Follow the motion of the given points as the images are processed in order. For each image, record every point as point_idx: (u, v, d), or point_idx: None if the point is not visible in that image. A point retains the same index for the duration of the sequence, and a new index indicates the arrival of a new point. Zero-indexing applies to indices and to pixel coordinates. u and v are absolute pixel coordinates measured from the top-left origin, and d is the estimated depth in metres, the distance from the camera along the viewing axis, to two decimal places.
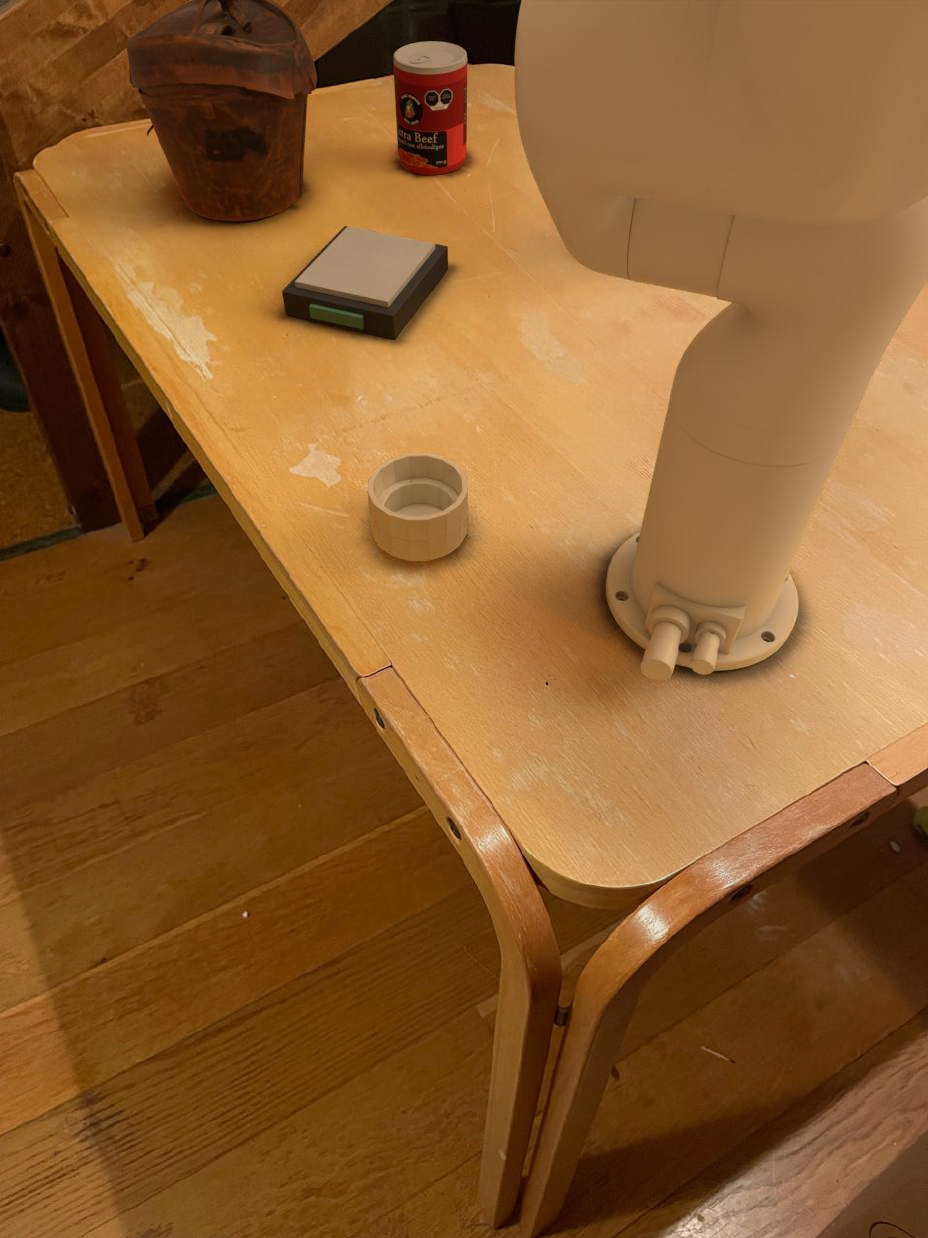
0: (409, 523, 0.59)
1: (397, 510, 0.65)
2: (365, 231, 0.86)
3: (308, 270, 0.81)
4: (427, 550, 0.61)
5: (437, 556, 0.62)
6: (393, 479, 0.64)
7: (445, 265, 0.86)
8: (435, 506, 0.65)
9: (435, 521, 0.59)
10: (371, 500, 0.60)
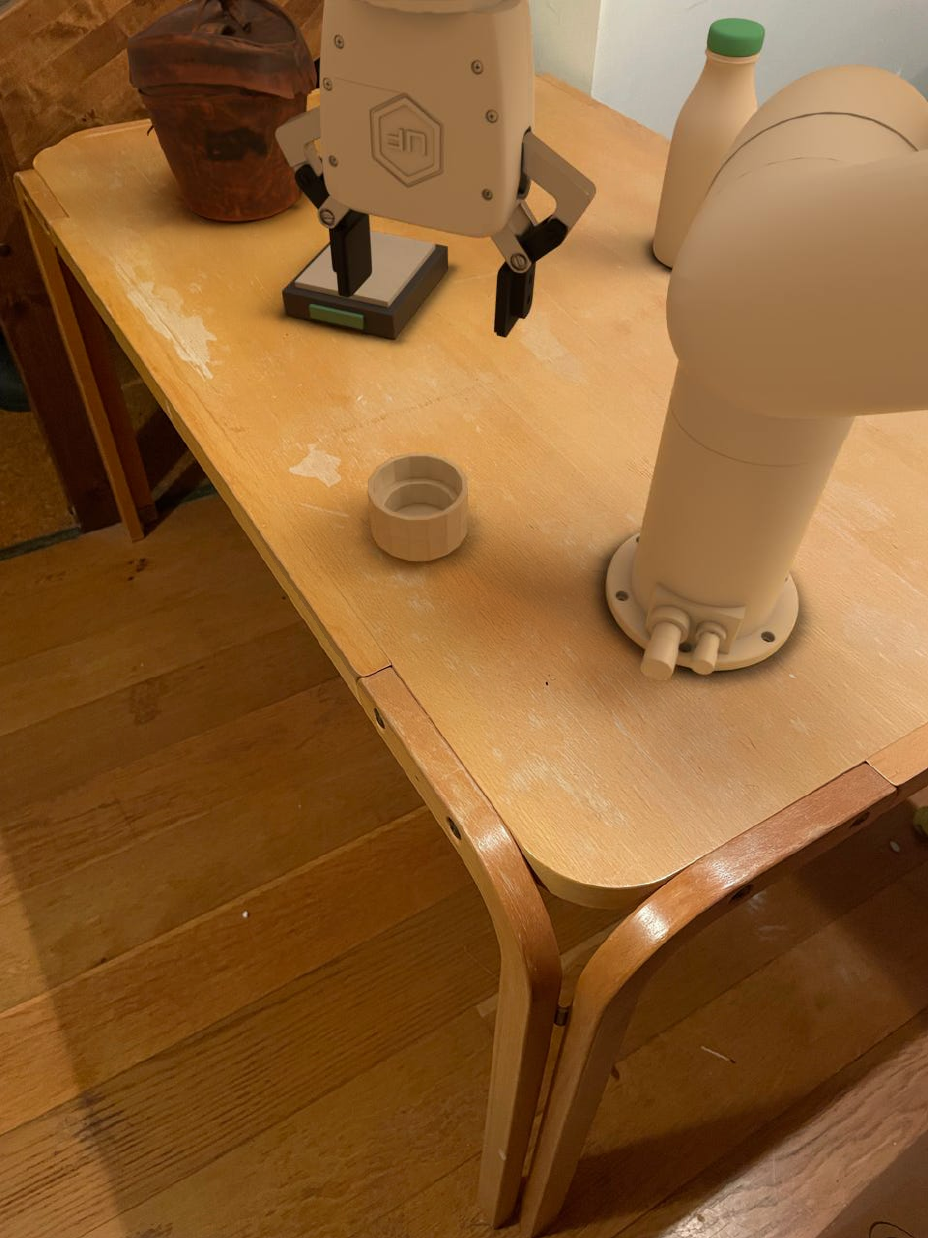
0: (409, 523, 0.59)
1: (397, 510, 0.65)
2: None
3: (308, 270, 0.81)
4: (427, 550, 0.61)
5: (437, 556, 0.62)
6: (393, 479, 0.64)
7: (445, 265, 0.86)
8: (435, 506, 0.65)
9: (435, 521, 0.59)
10: (371, 500, 0.60)
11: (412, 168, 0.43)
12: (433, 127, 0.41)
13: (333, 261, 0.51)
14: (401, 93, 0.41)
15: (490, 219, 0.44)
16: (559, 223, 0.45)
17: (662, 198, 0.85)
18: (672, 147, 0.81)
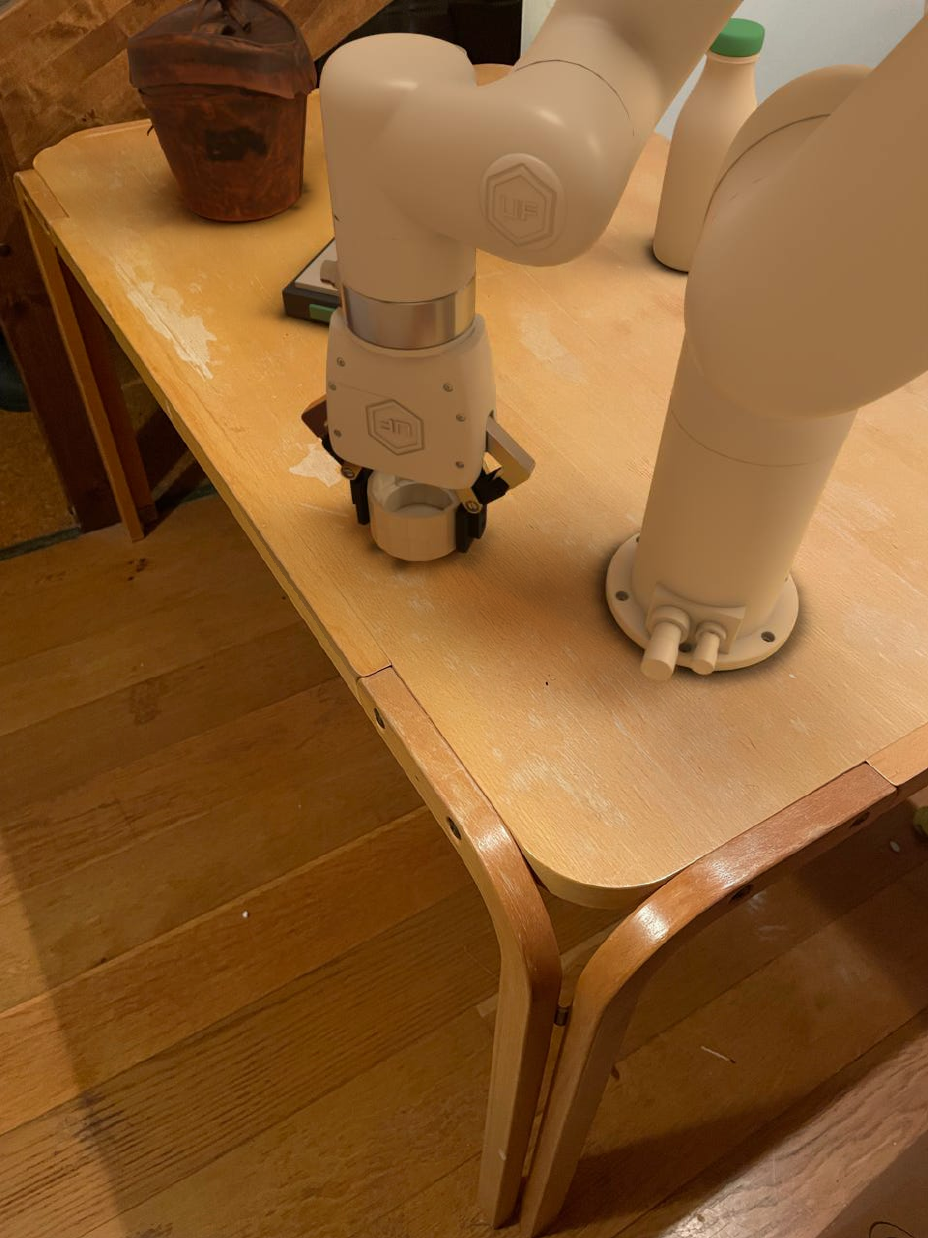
0: (409, 523, 0.59)
1: (397, 510, 0.65)
2: None
3: (308, 270, 0.81)
4: (427, 550, 0.61)
5: (437, 556, 0.62)
6: (393, 479, 0.64)
7: None
8: (435, 506, 0.65)
9: (435, 521, 0.59)
10: (371, 500, 0.60)
11: (400, 444, 0.55)
12: (416, 421, 0.53)
13: (353, 498, 0.63)
14: (390, 398, 0.52)
15: (463, 480, 0.55)
16: (502, 481, 0.57)
17: (662, 198, 0.85)
18: (672, 147, 0.81)
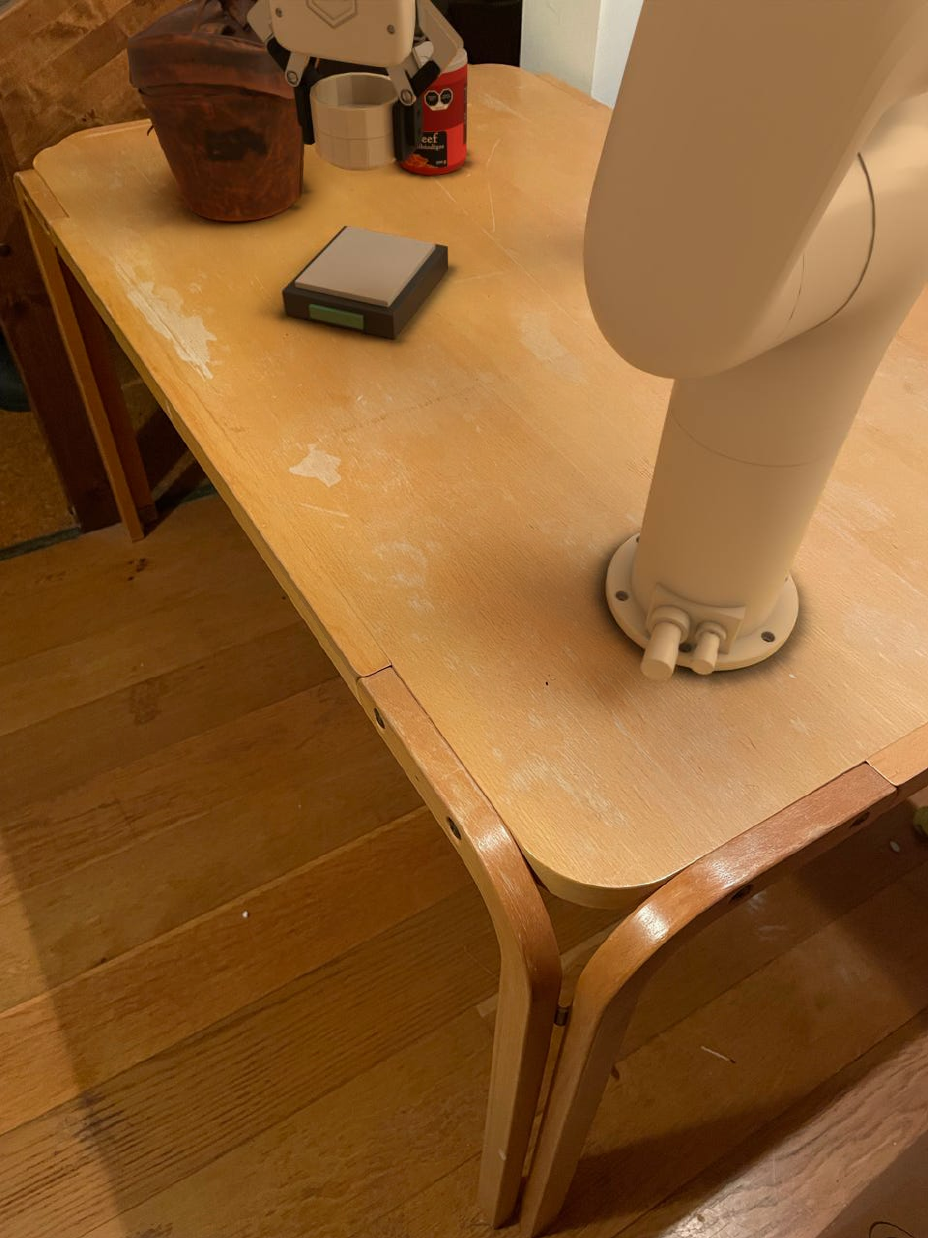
0: (347, 114, 0.63)
1: None
2: (365, 231, 0.86)
3: (308, 270, 0.81)
4: (366, 152, 0.65)
5: (376, 163, 0.66)
6: (336, 100, 0.68)
7: (445, 265, 0.86)
8: None
9: (372, 114, 0.63)
10: (313, 99, 0.64)
11: (336, 12, 0.59)
12: None
13: (298, 116, 0.67)
14: None
15: (395, 49, 0.59)
16: (433, 63, 0.61)
17: None
18: None
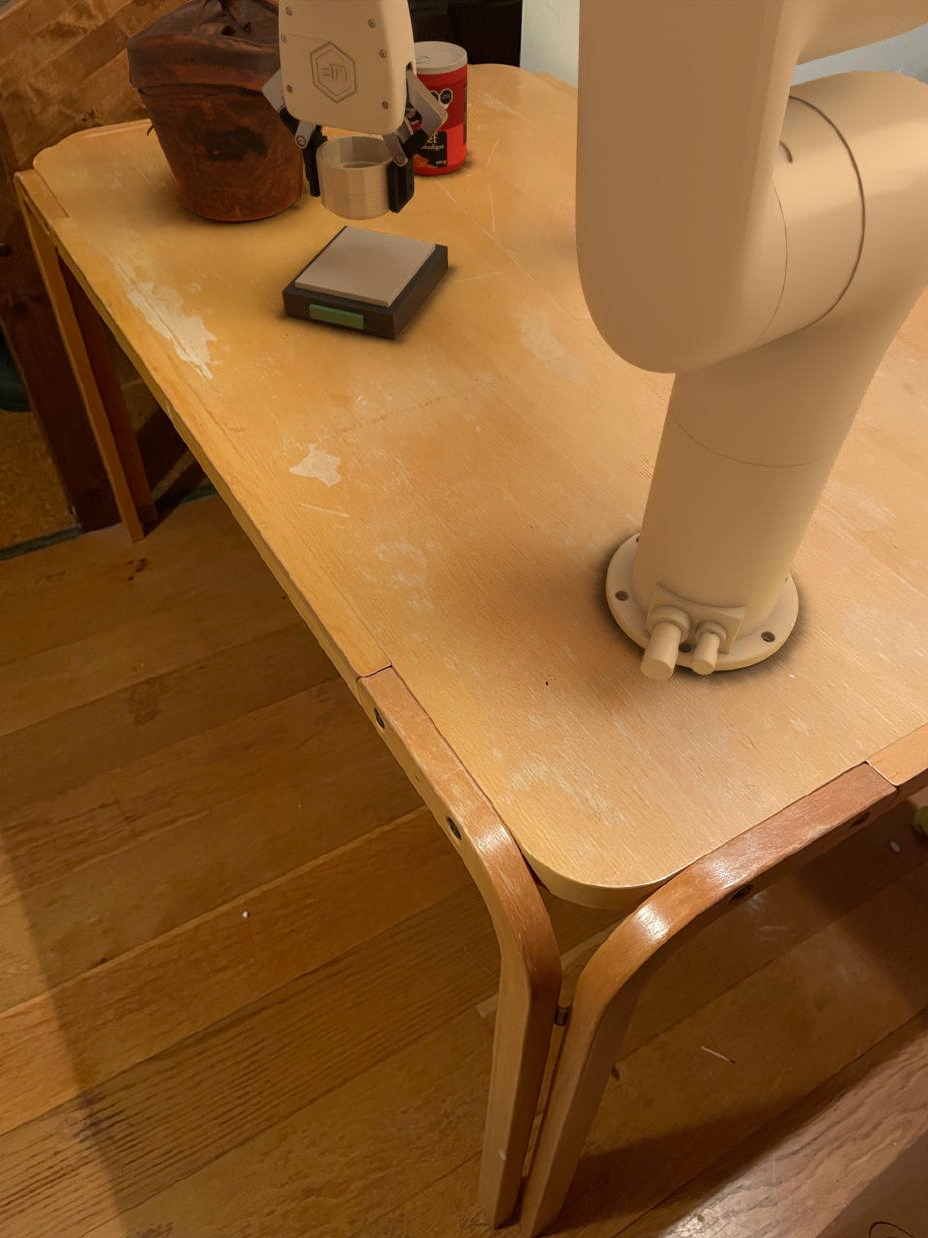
0: (348, 174, 0.73)
1: None
2: (365, 231, 0.86)
3: (308, 270, 0.81)
4: (364, 205, 0.75)
5: (373, 213, 0.76)
6: (339, 158, 0.78)
7: (445, 265, 0.86)
8: None
9: (369, 173, 0.73)
10: (318, 160, 0.74)
11: (338, 90, 0.69)
12: (349, 62, 0.67)
13: (306, 172, 0.77)
14: (328, 41, 0.67)
15: (388, 121, 0.69)
16: (421, 131, 0.71)
17: None
18: None
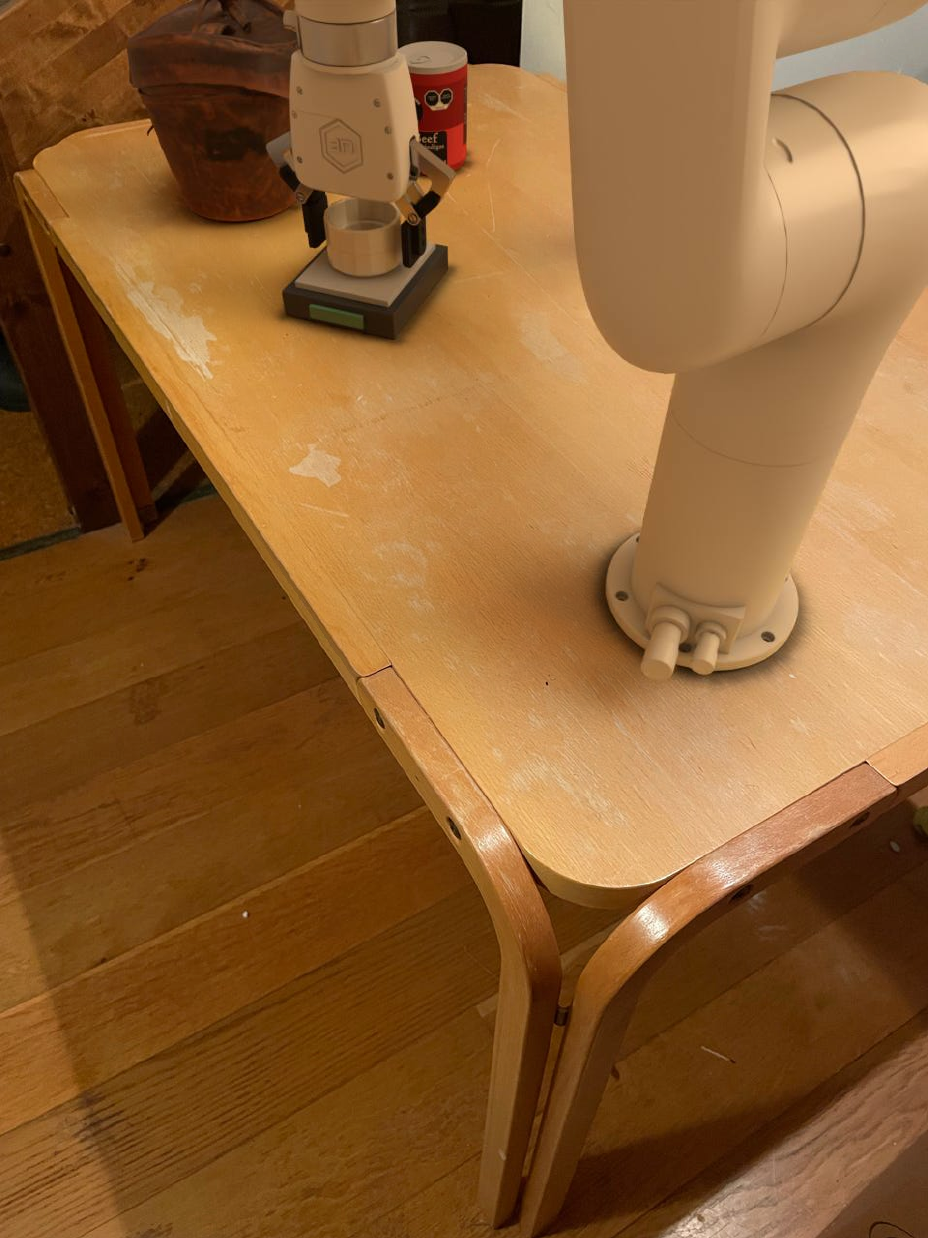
0: (354, 236, 0.77)
1: None
2: None
3: (308, 270, 0.81)
4: (369, 264, 0.79)
5: (378, 271, 0.80)
6: (345, 218, 0.82)
7: (445, 265, 0.86)
8: None
9: (374, 235, 0.77)
10: (326, 222, 0.78)
11: (346, 161, 0.73)
12: (356, 137, 0.71)
13: (305, 225, 0.81)
14: (336, 118, 0.71)
15: (393, 190, 0.73)
16: (434, 193, 0.75)
17: None
18: None
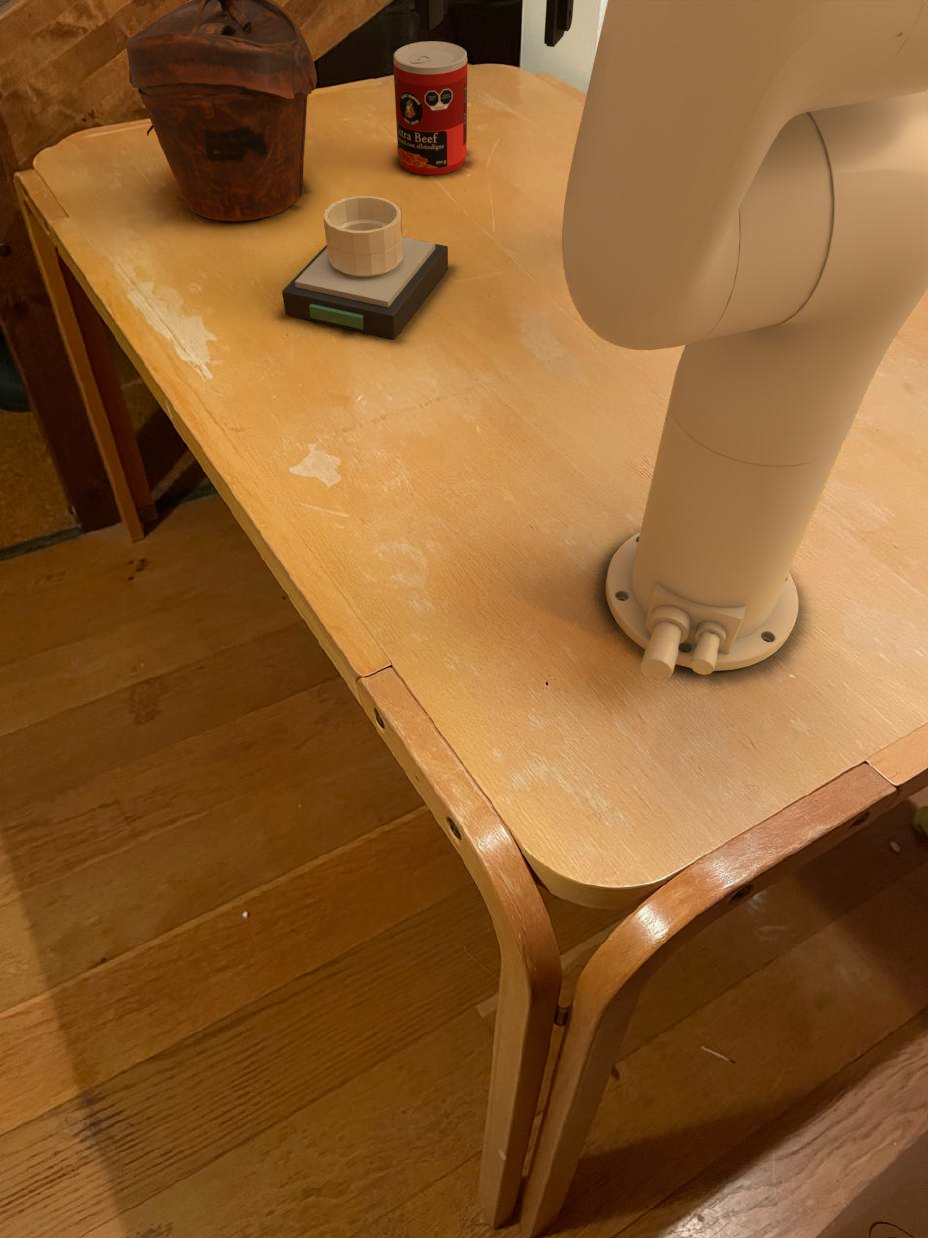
0: (354, 236, 0.77)
1: None
2: None
3: (308, 270, 0.81)
4: (369, 264, 0.79)
5: (378, 271, 0.80)
6: (345, 218, 0.82)
7: (445, 265, 0.86)
8: None
9: (374, 235, 0.77)
10: (326, 222, 0.78)
11: None
12: None
13: (416, 1, 0.66)
14: None
15: None
16: None
17: None
18: None
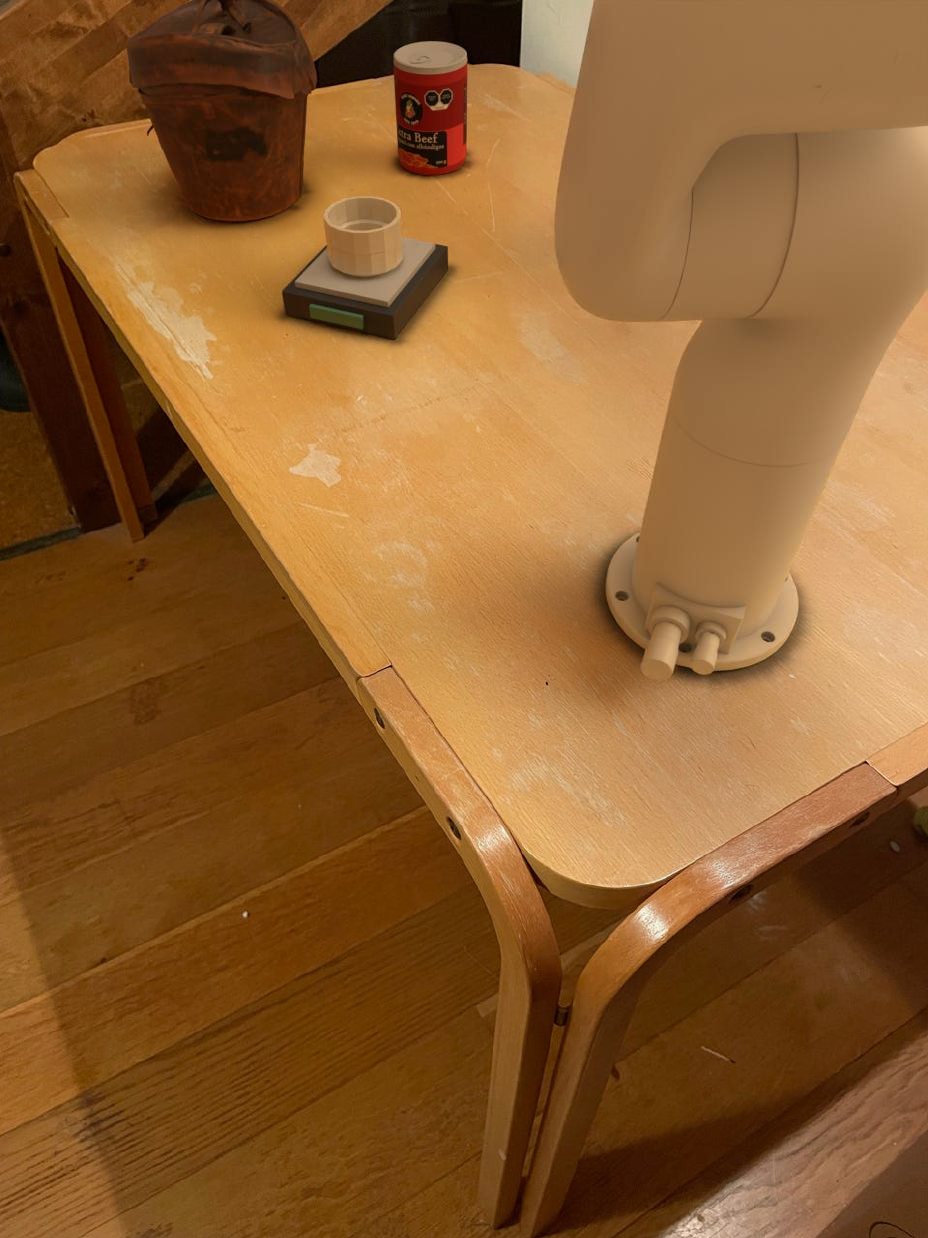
0: (354, 236, 0.77)
1: None
2: None
3: (308, 270, 0.81)
4: (369, 264, 0.79)
5: (378, 271, 0.80)
6: (345, 218, 0.82)
7: (445, 265, 0.86)
8: None
9: (374, 235, 0.77)
10: (326, 222, 0.78)
11: None
12: None
13: None
14: None
15: None
16: None
17: None
18: None
